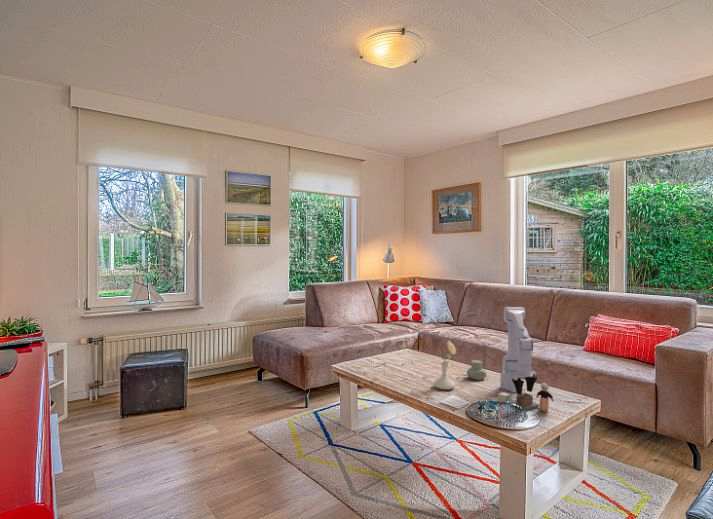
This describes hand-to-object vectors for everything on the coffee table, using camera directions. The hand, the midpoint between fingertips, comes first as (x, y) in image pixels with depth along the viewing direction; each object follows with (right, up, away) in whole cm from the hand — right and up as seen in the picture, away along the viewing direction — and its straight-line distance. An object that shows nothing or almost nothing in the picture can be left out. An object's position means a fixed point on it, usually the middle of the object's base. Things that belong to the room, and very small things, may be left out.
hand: (524, 392), depth 189 cm
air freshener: (-10, -6, +42) cm, 44 cm away
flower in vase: (-31, -6, +26) cm, 41 cm away
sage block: (-7, -6, +5) cm, 11 cm away
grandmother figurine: (+7, -7, -6) cm, 11 cm away
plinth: (0, -6, 0) cm, 6 cm away
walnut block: (0, -5, 0) cm, 5 cm away
